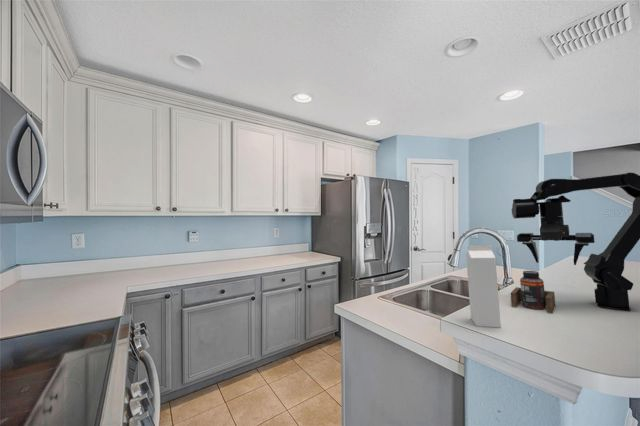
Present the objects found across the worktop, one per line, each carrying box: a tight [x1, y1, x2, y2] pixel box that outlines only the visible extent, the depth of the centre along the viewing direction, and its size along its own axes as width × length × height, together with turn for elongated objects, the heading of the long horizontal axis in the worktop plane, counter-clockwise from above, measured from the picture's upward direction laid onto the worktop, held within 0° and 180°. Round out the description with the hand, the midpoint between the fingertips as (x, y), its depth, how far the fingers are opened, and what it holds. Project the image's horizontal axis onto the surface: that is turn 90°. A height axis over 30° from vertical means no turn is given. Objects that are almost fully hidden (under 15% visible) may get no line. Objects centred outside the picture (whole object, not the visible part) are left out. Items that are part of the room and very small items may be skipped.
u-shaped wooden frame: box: [510, 286, 556, 314], centre depth 83 cm, size 10×9×4 cm
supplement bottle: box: [519, 270, 547, 310], centre depth 83 cm, size 6×6×11 cm
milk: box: [465, 244, 502, 328], centre depth 73 cm, size 6×6×22 cm
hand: (555, 263), depth 85 cm, fingers open, 9 cm apart
